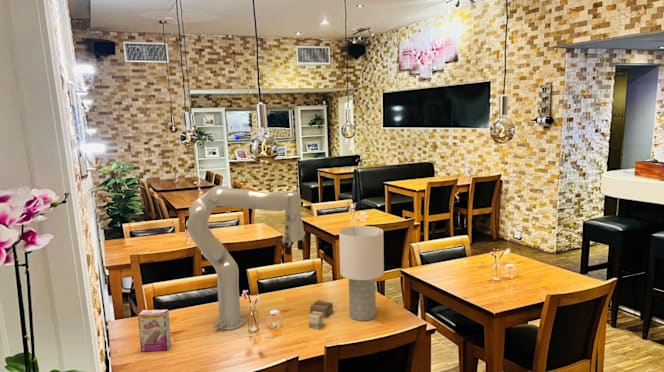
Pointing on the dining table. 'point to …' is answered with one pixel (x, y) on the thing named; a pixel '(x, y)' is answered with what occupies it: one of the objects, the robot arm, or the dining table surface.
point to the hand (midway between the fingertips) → (294, 252)
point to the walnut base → (322, 308)
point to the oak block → (316, 320)
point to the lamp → (361, 267)
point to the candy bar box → (154, 330)
